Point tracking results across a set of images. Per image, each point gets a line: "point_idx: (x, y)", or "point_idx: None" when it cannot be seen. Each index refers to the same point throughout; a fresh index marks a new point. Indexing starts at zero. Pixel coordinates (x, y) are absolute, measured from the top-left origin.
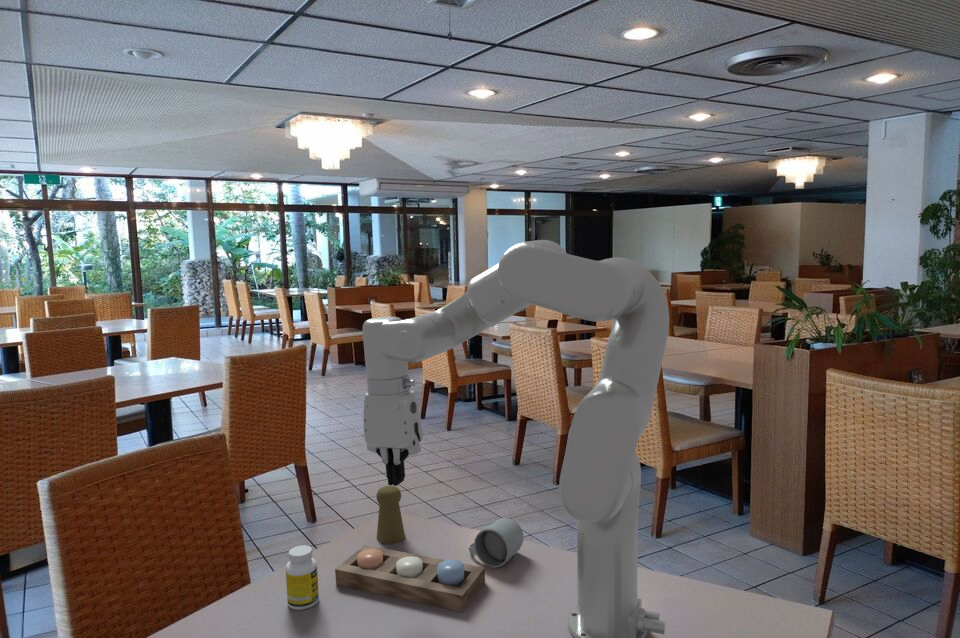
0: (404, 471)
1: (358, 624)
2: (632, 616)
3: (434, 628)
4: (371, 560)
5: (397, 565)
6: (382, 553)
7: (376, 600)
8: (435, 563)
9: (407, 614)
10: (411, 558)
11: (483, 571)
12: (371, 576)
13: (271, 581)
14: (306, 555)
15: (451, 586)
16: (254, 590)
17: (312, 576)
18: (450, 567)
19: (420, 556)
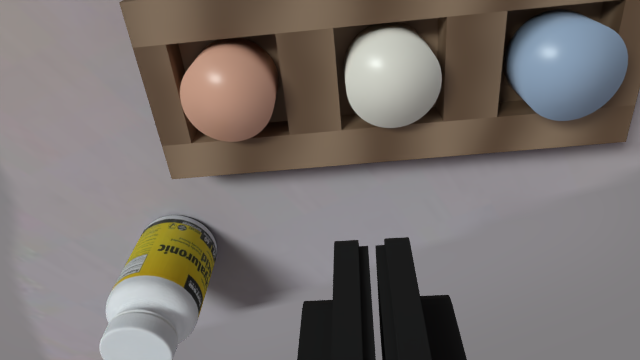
0: (459, 335)
1: None
2: None
3: (544, 201)
4: (258, 126)
5: (363, 116)
6: (260, 71)
7: (341, 168)
8: (466, 5)
9: (453, 184)
10: (384, 54)
11: None
12: (304, 167)
13: (23, 212)
14: (173, 356)
15: None
16: (32, 253)
17: (200, 300)
18: (576, 81)
19: None
